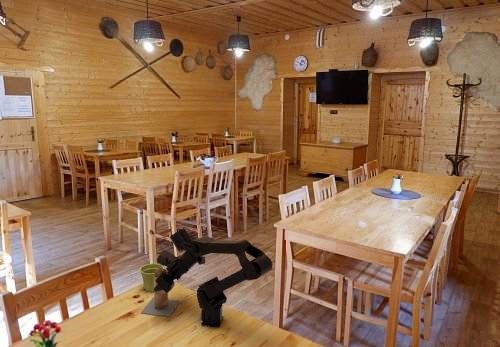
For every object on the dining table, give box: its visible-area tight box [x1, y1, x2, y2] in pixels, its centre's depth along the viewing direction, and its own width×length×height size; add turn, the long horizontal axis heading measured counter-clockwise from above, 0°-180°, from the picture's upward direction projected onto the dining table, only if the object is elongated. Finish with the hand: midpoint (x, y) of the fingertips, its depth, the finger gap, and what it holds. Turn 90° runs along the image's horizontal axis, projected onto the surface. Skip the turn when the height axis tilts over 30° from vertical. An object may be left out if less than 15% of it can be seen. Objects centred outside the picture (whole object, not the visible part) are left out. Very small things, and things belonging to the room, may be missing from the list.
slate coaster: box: [140, 297, 181, 318], centre depth 142 cm, size 11×11×1 cm
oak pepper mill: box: [153, 268, 169, 308], centre depth 141 cm, size 5×5×13 cm
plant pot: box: [139, 263, 165, 292], centre depth 155 cm, size 9×9×9 cm
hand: (157, 287), depth 141 cm, fingers closed on oak pepper mill, 5 cm apart
